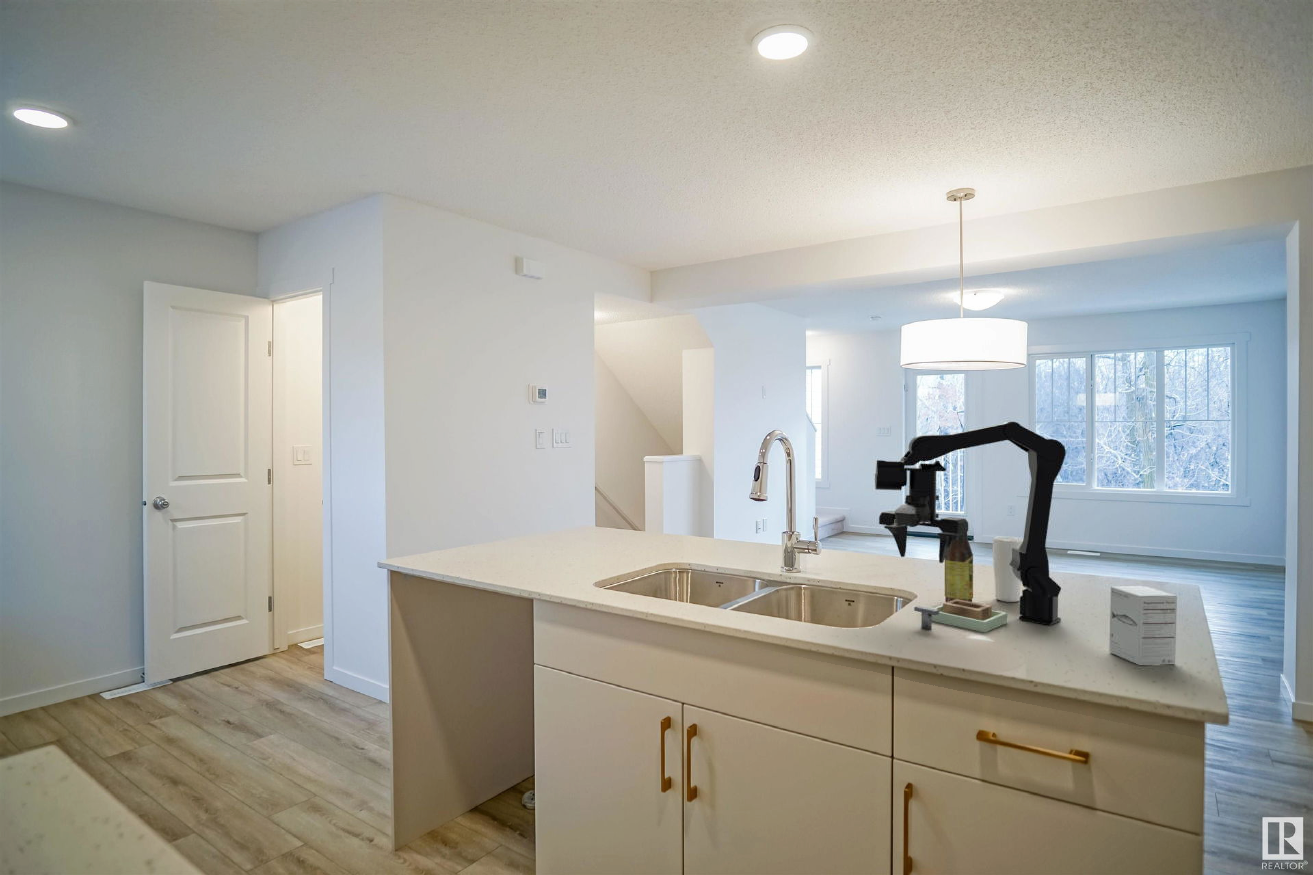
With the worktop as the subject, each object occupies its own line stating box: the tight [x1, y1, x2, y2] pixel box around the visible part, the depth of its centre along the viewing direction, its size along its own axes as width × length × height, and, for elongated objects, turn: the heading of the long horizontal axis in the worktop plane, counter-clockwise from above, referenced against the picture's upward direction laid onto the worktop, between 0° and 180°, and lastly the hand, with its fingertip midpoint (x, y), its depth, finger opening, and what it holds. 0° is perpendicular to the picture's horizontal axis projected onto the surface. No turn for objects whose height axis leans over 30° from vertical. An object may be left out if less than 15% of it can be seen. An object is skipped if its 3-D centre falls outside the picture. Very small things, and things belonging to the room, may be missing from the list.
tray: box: [932, 604, 1008, 633], centre depth 151 cm, size 12×11×2 cm
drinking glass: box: [992, 536, 1024, 603], centre depth 170 cm, size 7×7×15 cm
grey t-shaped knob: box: [913, 605, 939, 631], centre depth 145 cm, size 5×2×4 cm, turn 41°
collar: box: [942, 599, 993, 621], centre depth 151 cm, size 8×6×3 cm
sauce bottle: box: [944, 520, 974, 603], centre depth 165 cm, size 7×6×20 cm
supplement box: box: [1108, 585, 1178, 666], centre depth 127 cm, size 7×7×13 cm
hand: (921, 559), depth 158 cm, fingers open, 9 cm apart
